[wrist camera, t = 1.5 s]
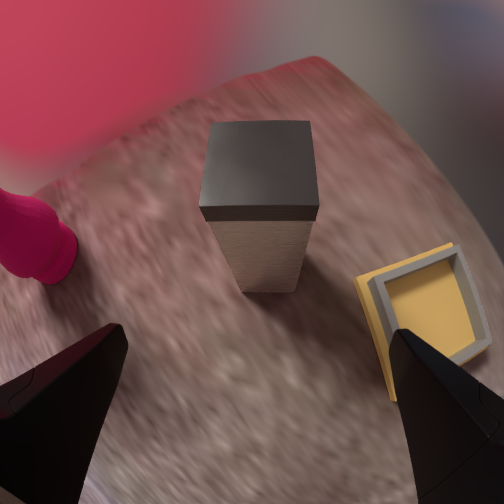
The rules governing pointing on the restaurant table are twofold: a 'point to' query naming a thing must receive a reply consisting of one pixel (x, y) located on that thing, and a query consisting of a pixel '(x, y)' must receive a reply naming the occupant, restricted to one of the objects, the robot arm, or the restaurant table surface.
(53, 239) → the pepper mill
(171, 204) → the restaurant table surface
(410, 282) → the square tray
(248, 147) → the grey rectangular block
